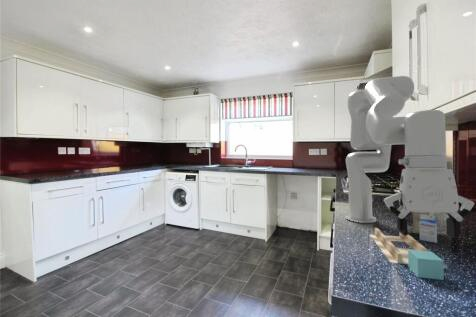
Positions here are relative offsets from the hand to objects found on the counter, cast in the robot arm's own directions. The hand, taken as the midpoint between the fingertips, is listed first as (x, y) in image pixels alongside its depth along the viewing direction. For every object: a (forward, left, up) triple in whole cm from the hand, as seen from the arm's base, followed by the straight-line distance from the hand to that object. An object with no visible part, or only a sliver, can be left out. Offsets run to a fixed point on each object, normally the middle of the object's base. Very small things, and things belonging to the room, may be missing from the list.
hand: (427, 235), depth 53 cm
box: (-37, +14, -11) cm, 41 cm away
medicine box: (-29, +12, -11) cm, 33 cm away
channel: (-17, 0, -11) cm, 20 cm away
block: (-4, 0, -8) cm, 9 cm away
